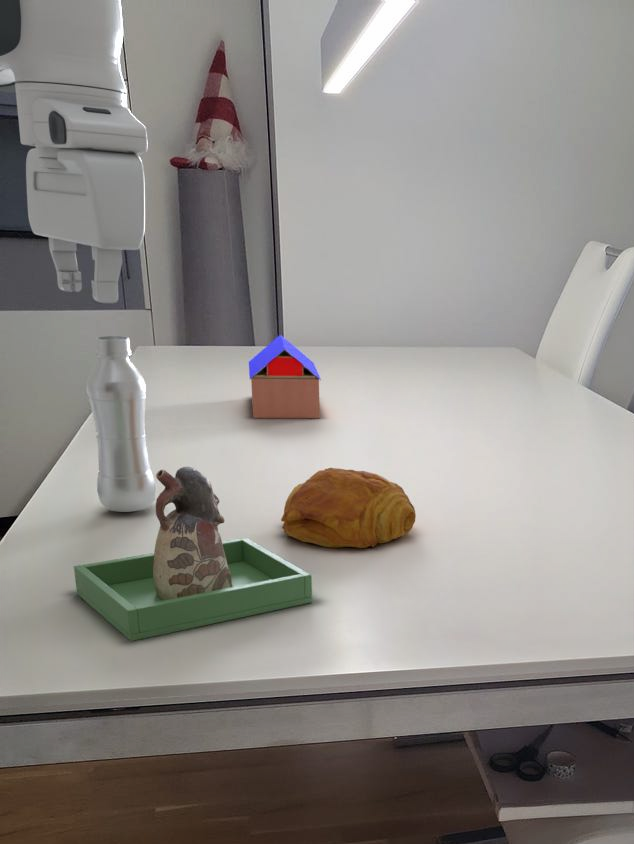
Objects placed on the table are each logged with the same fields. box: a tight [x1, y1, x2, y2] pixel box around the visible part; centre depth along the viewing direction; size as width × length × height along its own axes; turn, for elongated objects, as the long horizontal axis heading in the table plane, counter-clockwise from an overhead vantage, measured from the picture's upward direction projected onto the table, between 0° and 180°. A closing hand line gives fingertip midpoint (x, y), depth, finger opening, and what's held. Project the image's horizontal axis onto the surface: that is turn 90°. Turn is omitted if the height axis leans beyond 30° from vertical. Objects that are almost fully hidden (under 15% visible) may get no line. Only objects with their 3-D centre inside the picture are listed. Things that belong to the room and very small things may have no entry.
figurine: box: [153, 466, 233, 601], centre depth 95 cm, size 7×7×12 cm
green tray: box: [73, 537, 313, 642], centre depth 97 cm, size 18×14×3 cm
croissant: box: [280, 467, 417, 549], centre depth 118 cm, size 14×16×8 cm
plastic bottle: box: [85, 335, 157, 513], centre depth 120 cm, size 6×7×20 cm
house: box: [248, 334, 322, 419], centre depth 186 cm, size 12×20×12 cm, turn 12°
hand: (87, 296), depth 94 cm, fingers open, 8 cm apart
